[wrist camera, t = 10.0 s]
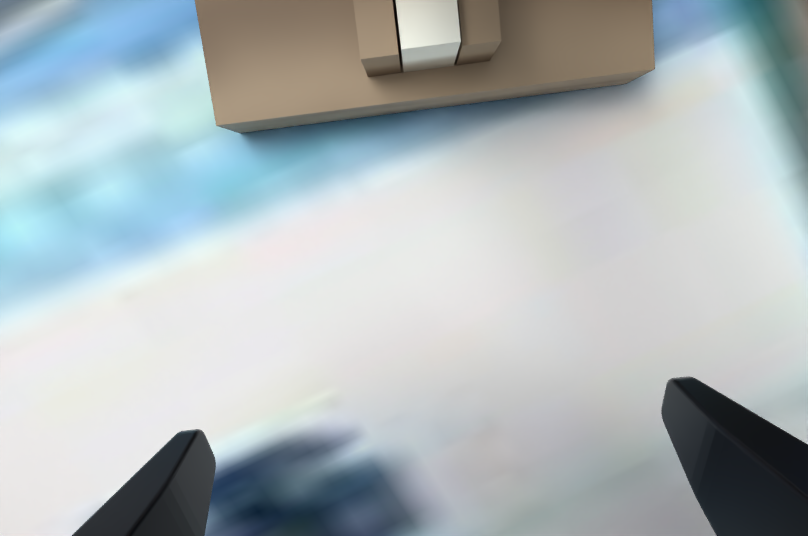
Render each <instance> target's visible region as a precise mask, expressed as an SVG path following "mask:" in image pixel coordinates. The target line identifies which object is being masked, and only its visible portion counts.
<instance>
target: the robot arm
mask: <svg viewBox="0 0 808 536" xmlns="http://www.w3.org/2000/svg"><path fill="white" fill-rule="evenodd" d="M661 411H662V419H663V422H664V424H665V427H666V429H667V431H668V434H669V436H670V438H671V441H672V443H673V446H674V448H675V450H676V453H677V455H678V457H679V460H680V462H681V464H682V467H683V469H684V471H685V474H686V476H687V478H688V481H689V483H690V485H691V488H692V490H693V492H694V494H695V496H696V498H697V500H698V502H699V504H700V506H701V508H702V510H703V512H704V514H705V515H706V517H707V519H708V521H709V523H710V524H711V526H712V528H713V530H714V532H715V533H716V535H717V536H808V445H807V444H806V443H804V442H802V441H801V440H799V439H797V438H795V437H794V436H792V435H790V434H789V433H787V432H785V431H784V430H782V429H780V428H779V427H777V426H775V425H773V424H772V423H770V422H768V421H767V420H765V419H763V418H762V417H760V416H758V415H757V414H755V413H753V412H751V411H750V410H748V409H746V408H745V407H743V406H741V405H740V404H738V403H736V402H735V401H733V400H731V399H729V398H728V397H726V396H724V395H723V394H721V393H719V392H718V391H716V390H714V389H713V388H711V387H709V386H707V385H706V384H704V383H702V382H701V381H699V380H697V379H695V378H693V377H680V378H672V379H670V380H669V381H668V382H667V385H666V390H665V394H664V399H663V404H662V410H661ZM215 468H216V462H215V457H214V454H213V452H212V450H211V447H210V445H209V443H208V441H207V438H206V436H205V434H204V432H203V431H202V430H199V429H196V430H186V431H181V432H179V433H177V434H176V435H175V436H174V437H173V438H172V439H171V440H170V441H169V442H168V443H167V444H166V445H165V446H164V447H163V448H161V449H160V450H159V451H158V452H157V453H156V454H155V455H154V456H153V457H152V458H151V459H150V460H149V461H148V462H147V463H146V464H145V465H144V466H143V467H142V468H141V469H140V470H139V471H138V472H137V473H136V474H135V475H134V476H133V477H132V478H131V479H130V480H129V481H127V482H126V483H125V484H124V485H123V486H122V487H121V488H120V489H119V490H118V491H117V492H116V493H115V494H114V495H113V496H112V497H111V498H110V499H109V500H108V501H107V502H106V503H105V504H104V505H103V506H102V507H101V508H100V509H99V510H98V511H97V512H96V513H94V514H93V515H92V516H91V517H90V518H89V519H88V520H87V521H86V522H85V523H84V524H83V525H82V526H81V527H80V528H79V529H78V530H77V531H76V532H75V533H74V534H73V535H72V536H204V535H205V529H206V523H207V517H208V511H209V505H210V499H211V493H212V487H213V481H214V475H215Z"/></svg>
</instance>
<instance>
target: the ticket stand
mask: <svg viewBox="0 0 808 536" xmlns="http://www.w3.org/2000/svg"><path fill="white" fill-rule="evenodd" d="M195 4H196V10H197V16H198V22H199V28H200V33H201V39H202V45H203V51H204V57H205V63H206V68H207V74H208V80H209V86H210V92H211V98H212V103H213V109H214V115H215V121H216V126H219V127H222V128H225V129H228V130H232V131H235V132H238V133H245V132H253V131H260V130H268V129H276V128H284V127H292V126H300V125H307V124H315V123H323V122H331V121H339V120H346V119H354V118H362V117H370V116H378V115H386V114H393V113H401V112H409V111H417V110H425V109H433V108H440V107H448V106H456V105H464V104H472V103H479V102H487V101H495V100H503V99H511V98H519V97H526V96H534V95H542V94H550V93H558V92H565V91H573V90H581V89H589V88H597V87H605V86H612V85H620V84H626V83H628V82H630V81H632V80H634V79H636V78H638V77H640V76H642V75H644V74H646V73H648V72H650V71H652V70H654V69H655V61H654V37H653V13H652V0H195Z"/></svg>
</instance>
